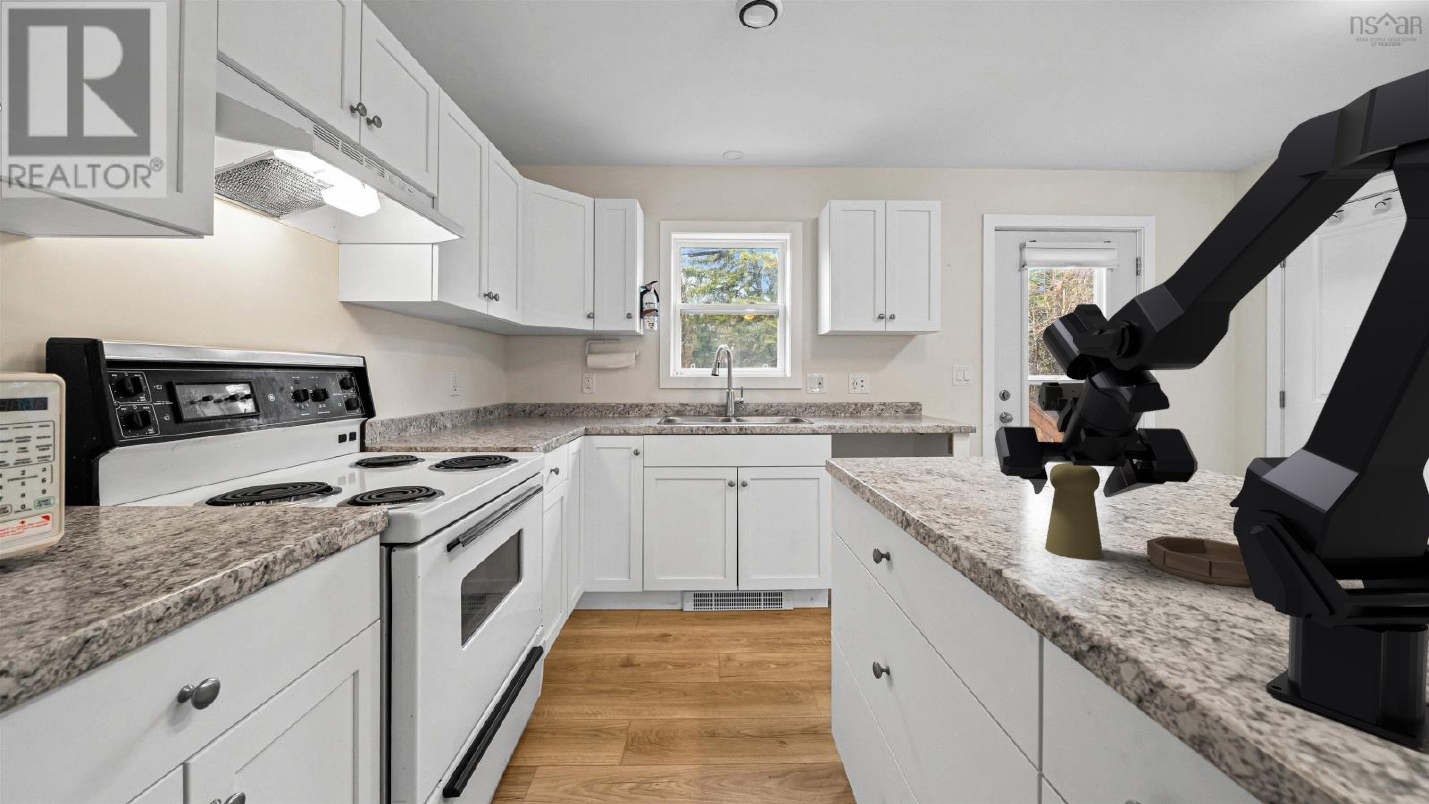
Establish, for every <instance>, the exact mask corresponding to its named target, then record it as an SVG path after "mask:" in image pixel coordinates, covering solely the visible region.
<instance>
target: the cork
mask: <svg viewBox="0 0 1429 804" xmlns="http://www.w3.org/2000/svg"><path fill="white" fill-rule="evenodd" d="M1049 482H1050V485H1051V486H1052V487H1053V489H1054V491H1053V499H1052V503H1051V509H1050V515H1049V523H1048V528H1047V534H1046V541H1045V547H1044V548H1045V549H1044V550H1045V551H1047V552H1049V553H1051V554H1053V555H1056V556H1060V557H1064V558H1069V559H1078V560H1098V559H1102V558H1103V557H1104V554H1103V553H1104V552H1103V546H1102V539H1101V532H1100V525H1099V520H1098V519H1099V518H1098V511H1097V510H1098V509H1097V505H1096V497H1095V492H1096V491H1097V490H1098V489H1099V487H1100V484H1101V477H1100V474H1099V472H1098V470H1097V469H1096V468H1095V466H1075V465H1073V463H1058V464H1057V463H1056V464H1055V465H1053V466H1052V468H1051V469H1050V472H1049Z"/></svg>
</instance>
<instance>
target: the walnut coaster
mask: <svg viewBox="0 0 1429 804" xmlns="http://www.w3.org/2000/svg"><path fill="white" fill-rule="evenodd" d="M1146 555H1147V556H1149V557H1150V563H1151V565H1152V566H1154V568H1157V569H1158V570H1161V571H1162V572H1164V573H1165V572H1166V573H1168V574H1171V575H1174V576H1178V577H1181V578H1185V579H1187V580H1193V581H1196V582H1202V583H1207V584H1213V585H1219V586H1228V587H1229V586H1230V587H1242V588H1243V587H1245V588H1252V586H1251V583H1250V580H1249V577H1248V574H1247V570H1246V567H1245V564H1244V561H1243V557H1242V554H1241V551H1240V548H1239V545H1238V544H1236V543H1235V544H1234V543H1229V542H1223V541H1220V540H1215V539H1214V540H1213V539H1209V538H1202V537H1188V536H1187V537H1186V536H1171V535H1164V536H1163V535H1161V536H1158V537H1155V538H1151V539H1148V540H1147V541H1146Z"/></svg>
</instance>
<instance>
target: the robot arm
mask: <svg viewBox="0 0 1429 804" xmlns="http://www.w3.org/2000/svg"><path fill="white" fill-rule="evenodd" d="M1390 172H1392V173H1393V175H1394V180H1395V182H1396V184H1397V185H1396V186H1397V189H1398V192H1399V195H1400V196H1399V197H1400V199H1401V202H1402V206H1403V209H1404V212H1405V213H1404V214H1405V223H1404V227H1403V230H1402V232H1401V233H1400V237H1399V238H1398V241H1397V243H1396V245H1395V247H1394V250H1393V251H1392V254H1391V256H1390V258H1389V260H1388V263H1387V265H1386V267H1385V270H1384V271H1383V274H1382V275H1381V278H1380V279H1379V282H1378V285H1377V287H1376V290H1375V291H1374V294H1373V295H1372V298H1371V300H1370V303H1369V304H1368V307H1367V309H1366V311H1365V313H1364V316H1363V318H1362V320H1361V322H1360V324H1359V327H1358V328H1357V331H1356V334H1355V336H1354V338H1353V339H1352V342H1351V345H1350V346H1349V349H1348V350H1347V352H1346V355H1345V357H1344V359H1343V362H1342V364H1341V366H1340V369H1339V370H1338V373H1337V375H1336V377H1335V379H1334V382H1333V383H1332V386H1331V388H1330V391H1329V392H1328V395H1327V397H1326V400H1325V402H1324V403H1323V406H1322V408H1321V410H1320V413H1319V415H1318V417H1317V419H1316V422H1315V424H1314V425H1313V428H1312V430H1311V432H1310V434H1309V437H1308V438H1307V440H1306V442H1305V443H1304V445H1303V446H1302V447H1301V448H1299V449H1298V450H1297V451H1295V452H1294V453H1292V454H1291V455H1289V456H1282V457H1281V456H1278V457H1277V456H1276V457H1275V456H1274V457H1273V456H1271V457H1269V456H1264V457H1263V456H1261V457H1258V456H1257V457H1255V458H1253V459H1252V461H1251V462H1250V463H1249V465H1248V466H1247V467H1246V469H1245V474H1244V479H1243V483H1242V486H1241V489H1240V491H1239V493H1238V494H1237V496H1236V497H1235V498H1233V499H1232V500H1231V501H1230V502H1229V507H1231V508H1238V509H1237V510H1236V511H1235V514H1234V518H1233V522H1232V529H1233V531H1232V532H1233V535H1234V537H1235V538H1236V541H1237V545H1239V548H1240V551H1241V554H1242V557H1243V561H1244V564H1245V567H1246V570H1247V574H1248V577H1249V580H1250V583H1251V586H1252V587H1251V589H1252V592H1253V595H1254V598H1255V599H1257V600H1258V601H1260V602H1263V603H1265V604H1269V605H1270V606H1271V607H1273V608H1274V611H1275V612H1278V613H1280V614H1282V615H1286V616H1289V622H1288V656H1287V658H1288V663H1287V664H1288V665H1287V669H1286V670H1285V671H1283V672H1282V673H1280V674H1279V675H1277V676H1276V677H1274V678H1273V679H1271V680H1270V681H1268V682H1267V683H1266V684H1265V692H1266V693H1267V694H1269V695H1271V696H1273V697H1275V698H1279V699H1281V700H1284V701H1286V702H1289V703H1292V704H1294V705H1298V706H1301V707H1303V708H1306V709H1308V710H1312V711H1315V712H1317V713H1319V714H1322V715H1325V716H1328V717H1331V718H1333V719H1336V720H1339V721H1342V722H1344V723H1347V724H1349V725H1352V726H1355V727H1357V728H1360V729H1363V730H1367V731H1369V732H1372V733H1373V734H1377V735H1379V736H1382V737H1385V738H1388V739H1391V740H1394V741H1396V742H1400V743H1401V744H1405V745H1407V746H1411V747H1414V748H1421V749H1422V748H1424V747H1425V746H1426V744H1428V742H1429V701H1427V686H1428V685H1427V683H1428V681H1427V679H1428V678H1427V677H1428V654H1429V653H1428V651H1429V650H1428V649H1429V489H1428V485H1427V483H1426V480H1425V477H1424V471H1425V469H1426V465H1427V463H1428V461H1429V68H1426V69H1425V70H1424V69H1423V70H1421V71H1419V72H1416V73H1413V74H1410V75H1408V76H1404V77H1401V78H1399V79H1395V80H1392V81H1390V82H1387V83H1383V84H1381V85H1378V86H1376V87H1372V89H1369V90H1368V91H1366V92H1364V93H1363V94H1362V95H1360V96H1359V97H1357V98H1356V99H1354V100H1352V101H1351V102H1350V103H1349V102H1348V103H1347V104H1346V105H1345V106H1343V107H1341V108H1338V109H1335V110H1332V111H1329V112H1325V113H1323V114H1319V115H1318V116H1314V117H1311V118H1309V119H1306V120H1305V121H1303V122H1301V123H1299V124H1297V125H1296V127H1294V128H1293V129H1292V130H1291V131H1290V132H1289V133H1288V134H1287V136H1286V137H1285V138H1284V139H1283V142H1282V143H1281V144H1280V148H1279V151H1278V154H1277V157H1276V159H1275V160H1274V161H1273V163H1271V165H1269V167H1268V168H1267V169H1266V170H1265V171H1264V173H1262V175H1261V176H1260V177H1259V178H1258V179H1257V180H1256V181H1255V183H1254V184H1252V186H1251V187H1250V188H1249V189H1248V191H1246V192H1245V194H1243V196H1242V197H1241V198H1240V199H1239V200H1238V202H1237V203H1235V205H1234V206H1233V207H1232V208H1231V210H1230V211H1228V212H1227V214H1226V215H1225V216H1224V217H1223V219H1221V221H1220V222H1219V223H1217V225H1216V227H1214V229H1212V230H1211V232H1210V233H1208V235H1207V236H1206V238H1204V239H1203V241H1202V242H1201V243H1200V244H1198V245H1199V246H1198V247H1196V249H1195V250H1194V251H1193V252H1192V253H1191V254H1190V255H1189V257H1188V258H1187V259H1186V260H1185V261H1184V262H1183V263H1182V264H1181V265H1180V267H1179V268H1177V270H1176V271H1175V272H1174V273H1173V274H1172V275H1171V276H1170V277H1167V279H1166V280H1165V281H1163V282H1161V283H1159V284H1158V285H1156V286H1154V287H1151V288H1148V289H1147V290H1145V291H1143V292H1141V293H1139V294H1137V295H1136V296H1134V297H1132V298H1131V299H1130V300H1129V301H1128V302H1126V303H1125V304H1124V305H1123V306H1122V307H1121V308H1120V309H1119V310H1117V311H1116V312H1115V313H1114V314H1113V315H1111V317H1110V318H1109V319H1107V318H1106V316H1105V315H1104V313H1103V311H1102V309H1101V308H1100V307H1099V306H1098V305H1097V303H1079V304H1078V303H1077V304H1076V306H1075V308H1074V310H1073V311H1072V312H1069V313H1066V314H1063V315H1062V316H1060V317H1058V318H1056V319H1055V320H1054V321H1052V322H1051V324H1049V325H1047V326H1046V327H1045V329H1044V331H1043V334H1042V341H1043V344H1044V346H1045V347H1046V349H1048V351H1049V353H1050V354H1051V355H1052V357H1053V358H1054V360H1055V362H1056V363H1057V364H1058V366H1059V367H1060V368H1061V370H1062V371H1063V373H1064V374H1065V376H1067V378H1069V379H1071V380H1074V381H1084V382H1061V383H1060V382H1058V381H1043V382H1041V385H1040V386H1039V387H1040V388H1039V390H1038V394H1037V395H1038V397H1037V403H1038V405H1039V407H1040V409H1041V410H1042V411H1043V412H1056V414H1057V415H1058V419H1057V422H1056V423H1055V424H1056V428H1057V430H1058V433H1063V436H1062V439H1061V441H1040V440H1039V439H1038V434H1037V432H1036V431H1037V430H1036V427H1034V426H1009V425H1007V426H1002V425H1001V426H1000V427H999V428H998V429H997V430H996V433H995V437H994V441H995V442H994V443H995V448H996V452H997V459H998V464H999V469H1000V472H1001V474H1003V475H1004V476H1006V477H1019V478H1020V480H1021V479H1022V480H1024V481H1025V480H1028V481H1029V482H1030V484H1032V488H1033V490H1034V492H1033V493H1034V494H1035V495H1039V494H1040V493H1042V492H1043V489H1044V487H1045V486H1046V484H1047V482H1048V479H1049V477H1048V472H1047V469H1046V465H1047V463H1056V464H1057V463H1058V464H1062V463H1073V465H1075V466H1092V467H1110V468H1111V467H1113V468H1112V470H1111V472H1110V474H1109V476H1108V477H1107V479H1106V480H1105V484H1104V486H1103V489H1102V491H1103V495H1104V497H1105V498H1111V497H1115V496H1118V495H1121V494H1124V493H1128V492H1131V491H1134V490H1139V489H1140V490H1141V489H1144V488H1147V487H1153V486H1156V485H1157V486H1158V485H1160V486H1161V485H1165V484H1166V483H1168V482H1169V483H1188V482H1189V481H1190V480H1192V478H1194V476H1195V474H1196V472H1197V471H1198V467H1199V466H1198V463H1199V462H1198V460H1197V458H1196V456H1195V454H1194V451H1193V450H1192V448H1191V446H1190V443H1189V441H1188V439H1187V438H1186V436H1185V434H1184V433H1183V431H1181V429H1179V428H1174V427H1172V428H1171V427H1170V428H1168V427H1167V428H1166V427H1155V428H1154V427H1138V428H1137V426H1138V424H1139V422H1140V420H1141V419H1142V417H1143V415H1144V413H1148V412H1149V413H1150V412H1156V411H1163V410H1168V409H1170V407H1171V404H1170V400H1169V397H1168V395H1166V393H1165V392H1164V391H1163V389H1162V387H1161V383H1160V382H1159V381H1158V379H1157V377H1155V376H1154V374H1152V372H1151V371H1179V370H1180V371H1182V370H1183V371H1184V370H1191V369H1194V368H1196V367H1198V366H1200V365H1201V364H1202V363H1204V362H1205V360H1207V358H1208V357H1209V356H1210V354H1212V352H1213V351H1214V350H1215V349H1216V347H1217V346H1218V345H1219V343H1220V342H1221V341H1222V340H1223V339H1224V338H1225V336H1226V335H1227V334H1228V332H1229V328H1230V320H1231V319H1230V318H1231V312H1232V311H1233V310H1234V309H1235V307H1236V306H1237V305H1238V304H1239V303H1240V302H1241V301H1242V299H1244V298H1245V297H1246V296H1247V295H1248V294H1249V293H1250V292H1251V291H1252V290H1253V289H1255V287H1257V286H1258V285H1259V284H1260V283H1261V282H1262V281H1263V280H1264V279H1265V278H1266V277H1267V276H1268V275H1269V274H1271V273H1272V272H1273V271H1274V270H1275V269H1276V268H1277V267H1278V266H1279V265H1280V264H1281V263H1283V262H1284V261H1285V260H1286V259H1287V258H1288V257H1289V255H1291V254H1292V253H1293V252H1295V250H1296V249H1298V247H1300V246H1301V245H1302V244H1303V243H1304V242H1305V241H1306V240H1307V239H1308V238H1310V236H1311V235H1312V234H1313V233H1315V232H1316V231H1317V230H1318V229H1319V228H1320V227H1321V226H1322V225H1323V224H1324V223H1325V222H1327V220H1328V219H1330V218H1331V217H1332V216H1333V215H1334V214H1335V213H1337V211H1338V210H1339V209H1340V208H1341V207H1342V206H1344V205H1345V204H1346V203H1347V202H1348V201H1349V200H1350V199H1351V198H1352V197H1353V196H1355V195H1356V193H1358V192H1359V191H1360V190H1361V189H1362V188H1363V187H1364V186H1365V185H1366V184H1367V183H1368V182H1369V181H1370V180H1372V179H1373V178H1375V176H1377V175H1381V174H1386V173H1390ZM1338 581H1361V583H1362V585H1363V587H1342V585H1341V584H1340V583H1339V582H1338Z"/></svg>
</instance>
